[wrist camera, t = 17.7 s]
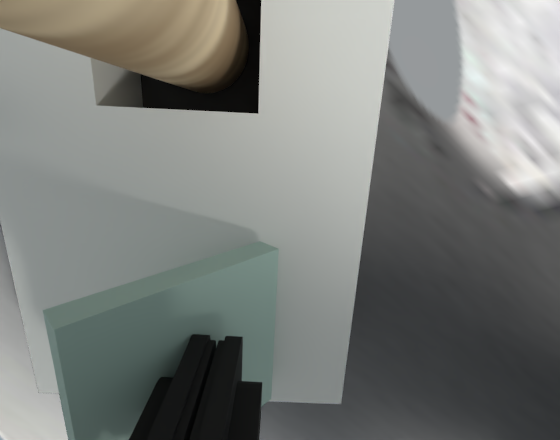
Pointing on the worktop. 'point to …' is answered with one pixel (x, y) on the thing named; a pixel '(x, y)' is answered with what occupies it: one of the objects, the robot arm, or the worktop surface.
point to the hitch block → (200, 180)
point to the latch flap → (158, 335)
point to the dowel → (143, 36)
